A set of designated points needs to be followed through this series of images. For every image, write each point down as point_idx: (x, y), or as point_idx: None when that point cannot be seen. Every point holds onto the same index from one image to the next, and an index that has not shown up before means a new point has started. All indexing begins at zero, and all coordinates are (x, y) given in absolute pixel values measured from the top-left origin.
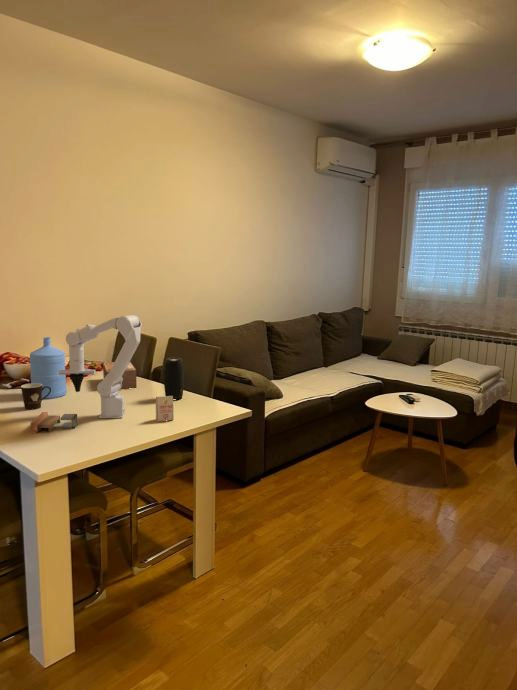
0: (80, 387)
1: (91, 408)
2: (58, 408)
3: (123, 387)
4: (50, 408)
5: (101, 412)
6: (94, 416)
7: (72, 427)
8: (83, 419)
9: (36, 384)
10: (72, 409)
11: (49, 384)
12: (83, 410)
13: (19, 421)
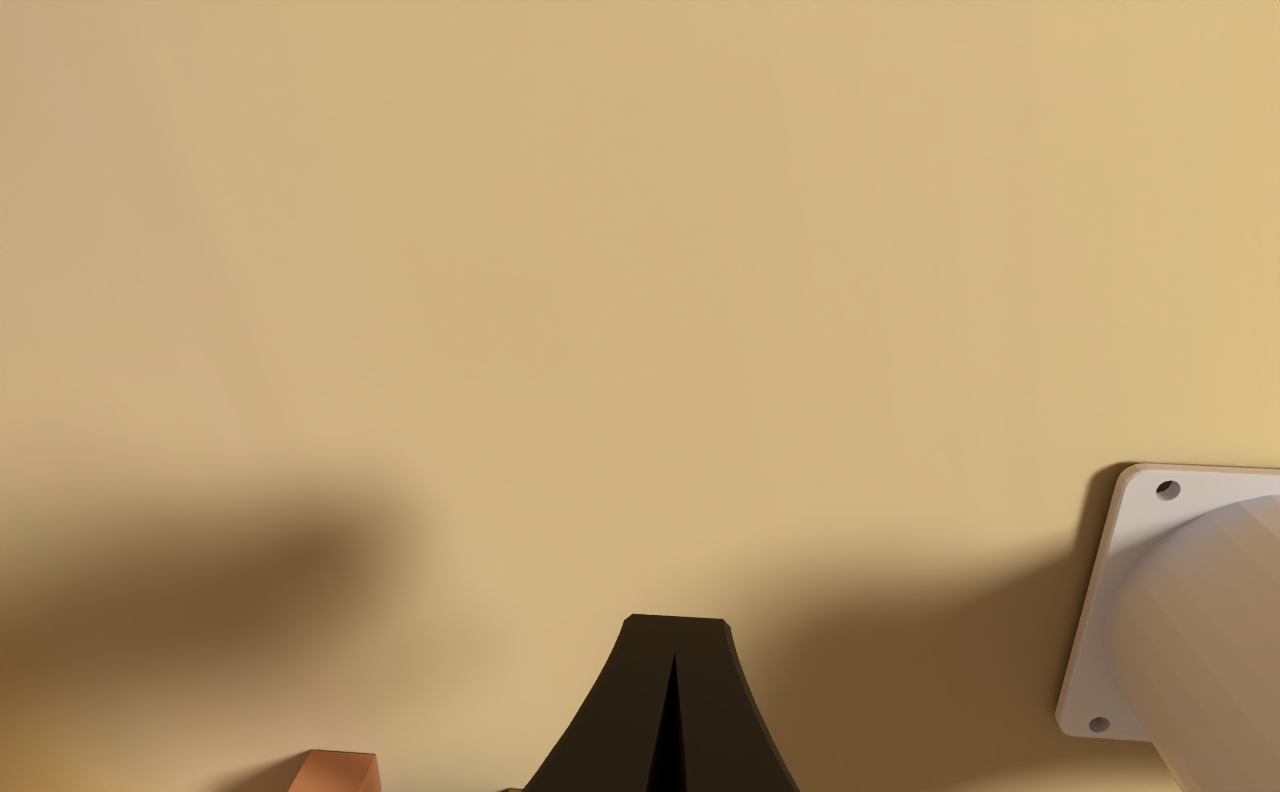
0: (745, 682)
1: (892, 102)
2: (214, 58)
3: None
4: (59, 48)
5: (1131, 705)
6: (981, 608)
7: None
8: (827, 719)
9: None
10: (517, 156)
11: None
12: (748, 245)
13: (9, 702)
